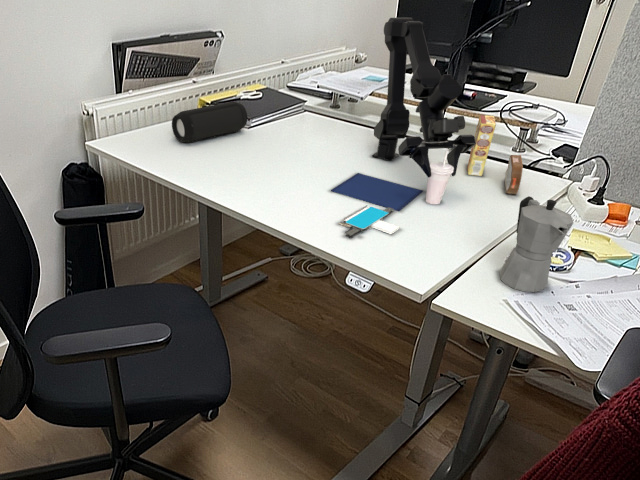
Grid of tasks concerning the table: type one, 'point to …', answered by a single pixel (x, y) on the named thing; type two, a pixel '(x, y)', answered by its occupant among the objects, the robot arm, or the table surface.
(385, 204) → the cloth
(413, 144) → the robot arm
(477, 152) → the candy box
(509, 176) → the tin
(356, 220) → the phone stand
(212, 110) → the portable speaker
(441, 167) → the smoothie
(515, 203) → the table surface
